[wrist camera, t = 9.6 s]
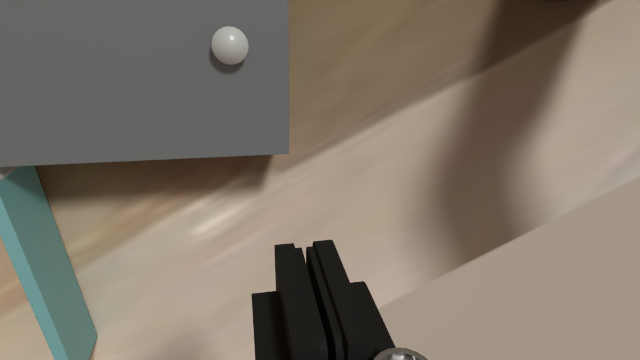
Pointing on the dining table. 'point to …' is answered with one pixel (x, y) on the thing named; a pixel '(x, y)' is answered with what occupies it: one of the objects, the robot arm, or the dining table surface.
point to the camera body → (142, 80)
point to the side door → (43, 264)
